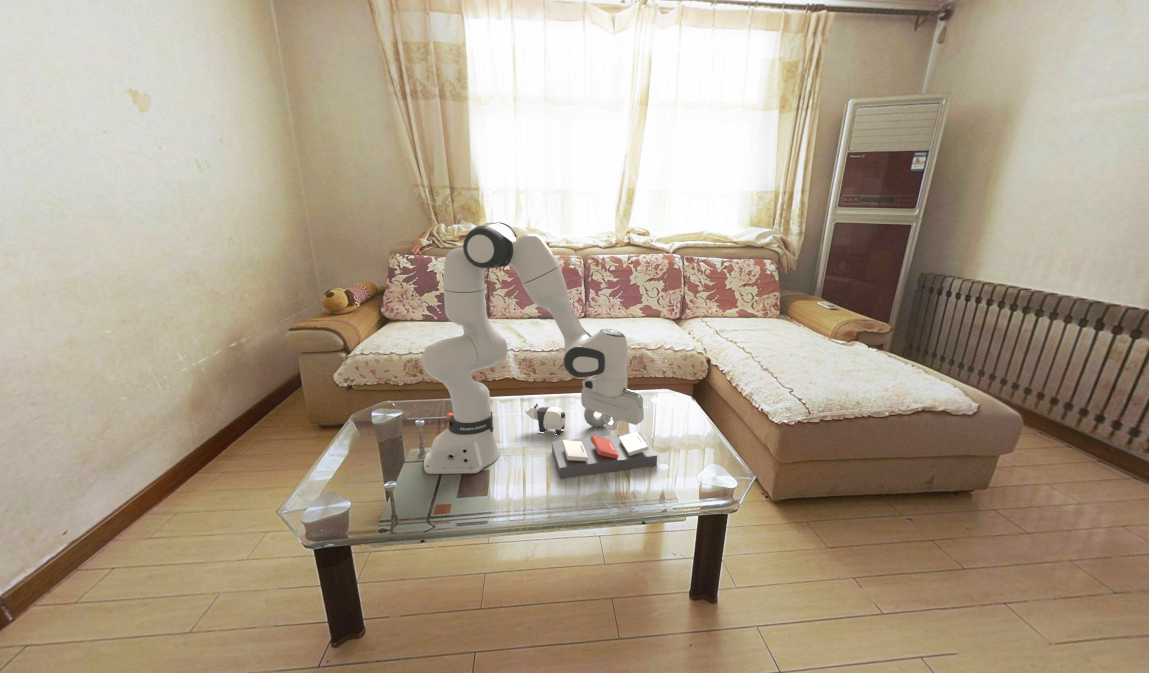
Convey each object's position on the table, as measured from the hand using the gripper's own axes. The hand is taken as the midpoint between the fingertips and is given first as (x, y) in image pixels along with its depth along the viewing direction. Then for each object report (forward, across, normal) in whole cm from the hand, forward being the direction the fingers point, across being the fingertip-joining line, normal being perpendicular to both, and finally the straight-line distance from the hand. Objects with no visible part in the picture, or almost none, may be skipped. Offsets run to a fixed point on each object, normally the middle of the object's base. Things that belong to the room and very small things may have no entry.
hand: (611, 428), depth 124 cm
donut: (+11, +16, -15) cm, 25 cm away
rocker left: (+6, +7, +9) cm, 12 cm away
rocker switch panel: (+11, +2, +1) cm, 11 cm away
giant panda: (+11, +28, -2) cm, 31 cm away
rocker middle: (+6, +1, +2) cm, 6 cm away
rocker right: (+5, -5, -5) cm, 9 cm away
